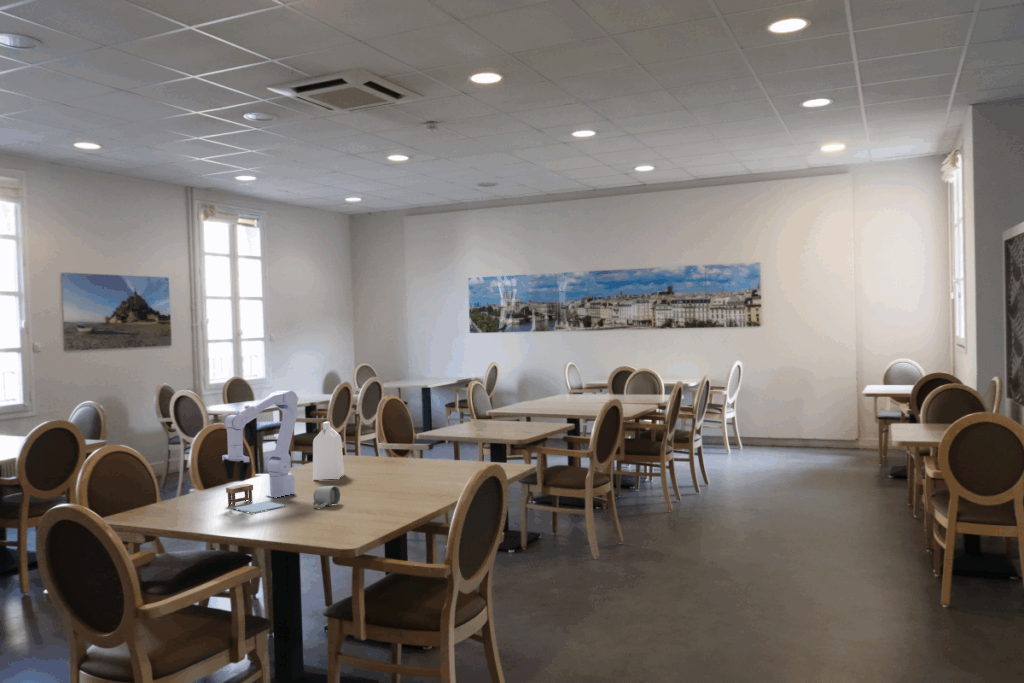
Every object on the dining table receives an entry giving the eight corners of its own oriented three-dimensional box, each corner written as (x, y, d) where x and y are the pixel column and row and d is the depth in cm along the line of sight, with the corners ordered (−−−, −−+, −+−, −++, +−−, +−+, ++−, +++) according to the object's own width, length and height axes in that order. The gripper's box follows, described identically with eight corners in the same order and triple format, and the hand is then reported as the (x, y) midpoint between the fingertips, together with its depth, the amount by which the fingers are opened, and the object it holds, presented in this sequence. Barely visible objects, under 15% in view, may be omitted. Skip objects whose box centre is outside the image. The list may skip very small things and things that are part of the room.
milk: (320, 475, 363) (317, 421, 363) (344, 474, 363) (341, 420, 362) (312, 480, 351) (310, 424, 351) (337, 479, 351) (334, 423, 350)
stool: (247, 500, 314) (246, 483, 314) (253, 502, 310) (253, 484, 310) (226, 505, 307) (225, 487, 307) (232, 506, 304) (232, 488, 304)
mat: (266, 502, 308) (266, 501, 308) (285, 506, 299) (285, 505, 299) (233, 509, 298) (233, 508, 298) (251, 514, 289) (251, 512, 289)
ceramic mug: (323, 502, 304) (322, 483, 303) (341, 503, 301) (340, 483, 300) (307, 509, 294) (306, 489, 293) (325, 510, 291) (324, 490, 291)
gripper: (215, 445, 305) (216, 479, 305) (238, 447, 297) (239, 482, 297) (230, 443, 311) (231, 476, 311) (253, 445, 303) (254, 479, 303)
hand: (236, 479), depth 304 cm, fingers open, 7 cm apart
